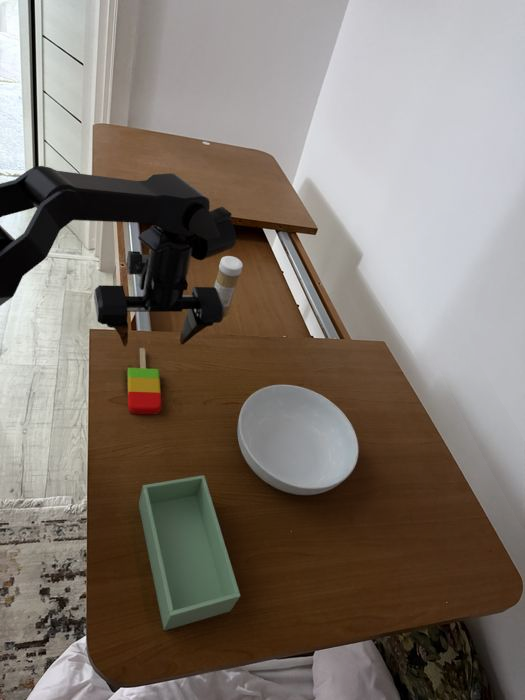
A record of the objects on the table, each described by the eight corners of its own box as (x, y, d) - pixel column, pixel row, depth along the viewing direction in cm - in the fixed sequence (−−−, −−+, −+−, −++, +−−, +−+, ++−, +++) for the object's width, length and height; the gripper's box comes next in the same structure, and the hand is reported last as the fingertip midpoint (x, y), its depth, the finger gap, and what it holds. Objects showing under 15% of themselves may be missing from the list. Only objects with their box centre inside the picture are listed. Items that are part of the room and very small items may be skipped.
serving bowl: (357, 445, 94) (373, 423, 89) (318, 535, 79) (335, 513, 74) (261, 389, 97) (272, 365, 92) (206, 465, 82) (215, 440, 77)
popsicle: (127, 415, 84) (128, 408, 83) (126, 350, 94) (127, 343, 93) (160, 415, 86) (162, 408, 85) (156, 352, 96) (157, 345, 95)
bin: (230, 611, 67) (240, 596, 63) (163, 631, 63) (170, 616, 59) (197, 493, 78) (204, 474, 74) (138, 504, 74) (142, 485, 70)
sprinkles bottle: (230, 310, 111) (246, 260, 102) (223, 321, 108) (239, 271, 99) (211, 302, 111) (225, 252, 102) (204, 313, 108) (217, 262, 99)
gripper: (216, 236, 80) (197, 309, 90) (93, 229, 72) (88, 310, 83) (236, 281, 73) (213, 355, 83) (101, 278, 65) (95, 359, 76)
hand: (153, 343), depth 82 cm, fingers open, 9 cm apart
